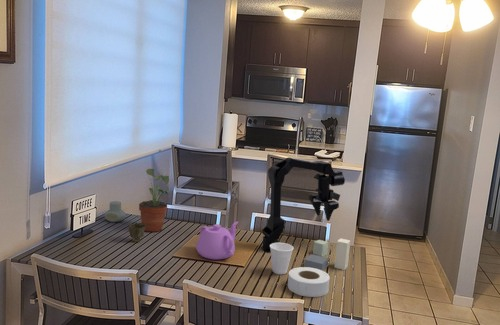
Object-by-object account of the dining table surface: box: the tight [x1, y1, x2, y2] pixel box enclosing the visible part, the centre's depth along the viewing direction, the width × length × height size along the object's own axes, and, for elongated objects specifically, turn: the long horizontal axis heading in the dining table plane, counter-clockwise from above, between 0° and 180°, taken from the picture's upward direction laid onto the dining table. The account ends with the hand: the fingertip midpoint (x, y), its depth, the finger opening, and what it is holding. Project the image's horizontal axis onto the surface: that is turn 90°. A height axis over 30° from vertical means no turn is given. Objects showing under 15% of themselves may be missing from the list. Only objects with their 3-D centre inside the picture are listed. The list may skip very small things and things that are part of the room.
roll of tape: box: [287, 266, 331, 298], centre depth 171 cm, size 16×16×6 cm
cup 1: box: [128, 222, 145, 243], centre depth 208 cm, size 8×7×8 cm
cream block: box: [333, 238, 351, 271], centre depth 194 cm, size 4×5×12 cm
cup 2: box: [270, 242, 295, 275], centre depth 184 cm, size 10×10×11 cm
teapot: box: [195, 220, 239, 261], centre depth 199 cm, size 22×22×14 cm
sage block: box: [312, 239, 329, 257], centre depth 208 cm, size 5×5×6 cm
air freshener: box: [104, 200, 127, 223], centre depth 237 cm, size 11×8×10 cm
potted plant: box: [138, 168, 170, 233], centre depth 225 cm, size 16×15×35 cm
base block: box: [303, 253, 329, 272], centre depth 192 cm, size 8×8×4 cm
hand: (323, 217), depth 218 cm, fingers open, 9 cm apart
